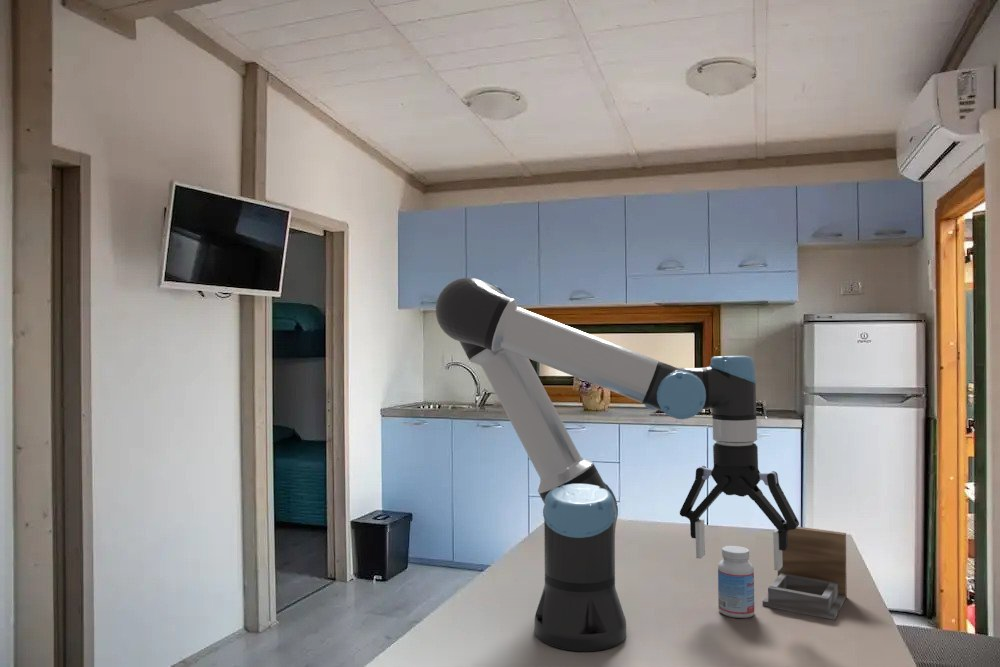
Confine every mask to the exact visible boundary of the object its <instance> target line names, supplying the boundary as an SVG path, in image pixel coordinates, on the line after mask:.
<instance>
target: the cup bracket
mask: <svg viewBox="0 0 1000 667" xmlns="http://www.w3.org/2000/svg"><path fill="white" fill-rule="evenodd" d="M782 561H783V567H782V568H781V569H780V570H779V571H777V577H776V578H775V579H774V580H773V581H772V582H771V584H770V585H769V586H768V587H767V595H766V597H764V599H763V600H762V606H764V607H768V608H773V609H778V610H784V611H788V612H794V613H797V614H798V613H799V614H803V615H809V616H814V617H818V618H824V619H829V620H833V621H835V620H836V618H837V616H838V614H839V612H840V610H841V608H842V607H843V604H844V603H845V601H846V599H847V596H848V595H847V590H848V589H847V588H848V587H847V532H840V531H833V530H826V529H819V528H810V527H803V526H797V528H796V529H794V530H788V548H787V549H786V550H785V551H784V550H782Z"/></svg>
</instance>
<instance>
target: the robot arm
mask: <svg viewBox="0 0 1000 667" xmlns="http://www.w3.org/2000/svg"><path fill="white" fill-rule="evenodd" d="M435 315H436V320H437V323H438V325H439V326H440V328H441V330H442V332H444V333H445V334H446V335H447V336H448V337H450V338H451V339H453V340H454V341H457V342H459V343H460V345H461V347H462V349H463V351H464V353H465V355H466V356H467V359H468V361H469V362H470V363H472V364H475V365H477V366H478V365H479V366H480V367H481V368H482V370H483V372H484V374H485V376H486V377H487V379H488V382H489V383H490V385H491V387H492V389H493V391H494V393H495V395H496V396H497V399H498V400H499V402H500V405H501V406H502V408H503V410H504V412H505V414H506V415H507V417H508V420H509V422H510V423H511V425H512V426H513V429H514V431H515V433H516V435H517V437H518V438H519V440H520V442H521V444H522V446H523V448H524V450H525V451H526V453H527V457H529V459H530V462H531V463H532V466H533V467H534V469H535V471H536V472H537V475H538V476H539V478H540V480H539V481H540V483H539V486H538V489H537V492H538V495H539V497H540V498H541V501H542V502H543V504H544V505H543V509H542V516H543V521H544V527H543V529H544V535H543V536H544V585H543V589H542V592H541V595H540V599H539V602H538V606H537V608H536V612H535V615H534V621H533V622H534V625H533V626H534V636H536V637H537V639H538V640H540V641H541V642H542V643H544V644H546V645H549V646H551V647H554V648H558V649H560V650H562V649H563V650H567V651H573V652H595V651H602V650H603V651H604V650H607V649H611V648H614V647H617V646H618V645H620V644H622V643H623V642H624V641H625V639H626V636H627V620H626V616H625V613H624V610H623V607H622V604H621V601H620V599H619V595H618V592H617V589H616V546H615V545H616V544H615V543H616V542H615V541H616V526H617V521H618V518H619V517H618V516H619V515H618V514H619V508H618V501H617V498H616V495H615V493H614V492H613V490H612V489H611V488H610V486H609V485H608V484H606V483H605V482H604V480H603V478H602V477H601V474H600V472H599V471H598V469H597V468H596V466H595V464H594V461H592V460H588V459H585V458H583V457H582V456H581V454H580V453H579V451H578V448H577V447H576V445H575V443H574V441H573V440H572V438H571V436H570V434H569V432H568V430H567V428H566V426H565V424H564V422H563V421H562V419H561V417H560V415H559V414H558V412H557V410H556V408H555V406H554V404H553V402H552V400H551V398H550V396H549V395H548V392H547V391H546V389H545V387H544V385H543V383H542V382H541V380H540V377H539V376H538V374H537V372H536V370H535V368H534V366H533V364H532V362H531V361H530V360H532V361H534V362H536V363H539V364H542V365H544V366H547V367H549V368H551V369H554V370H557V371H560V372H562V373H564V374H567V375H570V376H572V377H574V378H577V379H580V380H583V381H585V382H588V383H590V384H593V385H595V386H597V387H600V388H603V389H605V390H608V391H611V392H613V393H616V394H618V395H620V396H624V398H628V399H631V400H633V401H636V402H638V403H641V404H644V406H645V408H646V409H648V410H658V411H661V412H663V414H665V415H666V416H669V417H671V418H674V419H677V420H687V419H690V418H692V417H695V416H696V415H697V414H699V413H700V412H701V411H702V410H711V413H712V414H711V417H712V440H713V441H715V442H714V444H713V445H712V454H713V460H712V461H713V468H710V467H709V468H708V467H706V466H705V465H701V466H699V467H697V468H696V469H695V475H694V476H695V478H694V481H693V484H692V486H691V488H690V489H689V491H688V494H687V496H686V497H685V500H684V503H683V504H682V506H681V508H680V510H679V516H681V517H684V518H687V519H688V520H689V524H690V525H689V526H690V537H691V539H695V556H696V559H700V560H701V559H702V558H703V557H705V556H706V538H705V537H706V536H705V532H706V531H705V518H704V519H703V518H701V517H702V515H703V514H704V513H705V512H706V511H707V509H708V508H709V507H710V506H711V505H712V504H713V503H714V502H715V501H716V499H717V498H718V497H719V496H720V495H721V494H722V493H724V494H725V495H726V496H737V497H742V498H743V497H746V496H748V497H749V498H750V499H751V500H752V501H753V502H754V503H755V504H756V505H757V507H759V509H760V510H761V511H762V512H763V513H764V515H765V516H766V517H767V519H768V520H769V521H770V522H771V524H773V526H774V527H775V528H776V529H774V531H773V532H772V535H773V540H772V541H773V566H774V568H773V569H774V571H777V572H778V571H779V570H780V569H781V568H782V567H783V561H782V550H784V551H785V550H786V549H787V548H788V530H794V529H796V528H797V527H799V526H800V521H799V520H798V517H797V516H796V514H795V512H794V510H793V508H792V506H791V505H790V502H789V500H788V499H787V497H786V494H784V491H783V489H782V488H781V485H780V483H779V474H778V473H777V472H776V471H774V470H773V471H771V472H760V469H759V458H758V457H759V454H758V452H759V451H758V449H759V448H758V445H757V444H756V443H754V442H756V441H757V440H758V425H757V424H758V421H757V420H758V419H757V387H756V386H757V380H756V370H755V362H754V360H753V358H752V357H750V355H749V356H748V355H722V356H721V355H719V356H718V355H717V356H712V357H711V358H710V364H709V366H706V367H677V366H673V365H671V364H668V363H666V362H663V361H659V360H657V359H654V358H652V357H650V356H647V355H644V354H641V353H640V352H637V351H634V350H632V349H628V348H625V347H624V346H621V345H618V344H616V343H613V342H611V341H608V340H606V339H603V338H600V337H597V336H595V335H592V334H590V333H587V332H584V331H582V330H579V329H577V328H574V327H571V326H569V325H567V324H566V325H565V324H564V323H561V322H559V321H556V320H554V319H552V318H548V317H545V316H543V315H540V314H537V313H535V312H532V311H529V310H527V309H524V308H523V307H519V305H518V304H517V301H516V299H514V298H512V297H509V295H508V294H507V293H506V292H505V291H504V290H503V289H502V288H501V287H498V286H497V285H495V284H494V283H491V282H487V281H483V280H480V279H478V278H474V277H462V278H458V279H456V280H452V281H451V282H449V283H448V284H447V285H445V287H444V288H443V289H442V290H441V291H440V292H439V295H438V297H437V300H436V304H435ZM710 477H712V479H713V480H714V482H715V483H716V485H715V486H714V487H713V488H712V489H711V491H710V492H709V493H708V494H707V495H706V497H704V499H703V500H702V501H701V502H700V504H698V506H697V507H696V508H695V509H694V510H692V509H693V508H694V505H695V503H696V501H697V499H698V497H699V495H700V493H701V491H702V489H703V486H704V485H705V483H706V481H707V480H708V479H710ZM760 481H762V482H763V483H764V484H765V486H767V488H768V489H769V492H770V494H771V496H772V497H773V499H774V501H775V503H776V505H777V508H778V509H779V511H780V513H781V514H780V513H779V512H778V511H777V509H776V508H775V507H774V506H773V505H772V504H771V502H770V501H769V500H768V498H767V497H766V496H765V494H764V493H763V492H762V490H761V488H759V487H758V484H759V483H760ZM781 515H782V516H781Z"/></svg>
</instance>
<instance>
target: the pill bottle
mask: <svg viewBox="0 0 1000 667" xmlns="http://www.w3.org/2000/svg"><path fill="white" fill-rule="evenodd" d="M721 556H722V558H723V559H721V560H720V561H719V562H718V565H717V595H718V596H717V597H718V598H717V599H718V602H717V603H718V607H717V608H718V611H719V613H721V614H722V615H724V616H726V617H730V618H735V619H737V618H738V619H747V618H751V617H752V616H754V614H755V569H754V566H753V564H752V563H751V562H750V561H749V560H750V556H751V555H750V550H749V549H748V548H747V547H744V546H738V545H725V546H723V547H722V548H721Z"/></svg>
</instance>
